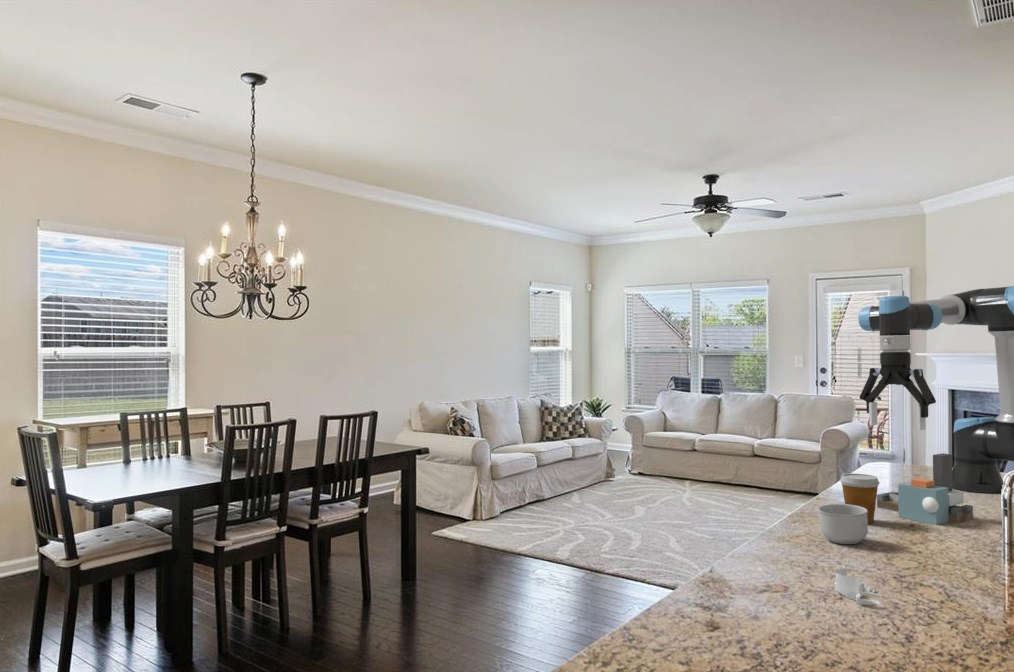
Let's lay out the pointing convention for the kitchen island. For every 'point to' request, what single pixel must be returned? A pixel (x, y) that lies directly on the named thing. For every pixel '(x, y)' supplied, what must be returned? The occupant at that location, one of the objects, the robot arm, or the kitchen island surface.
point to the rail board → (896, 508)
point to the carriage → (946, 477)
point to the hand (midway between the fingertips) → (896, 427)
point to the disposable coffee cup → (861, 492)
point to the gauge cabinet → (923, 503)
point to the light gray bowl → (843, 523)
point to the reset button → (922, 483)
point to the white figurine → (854, 588)
